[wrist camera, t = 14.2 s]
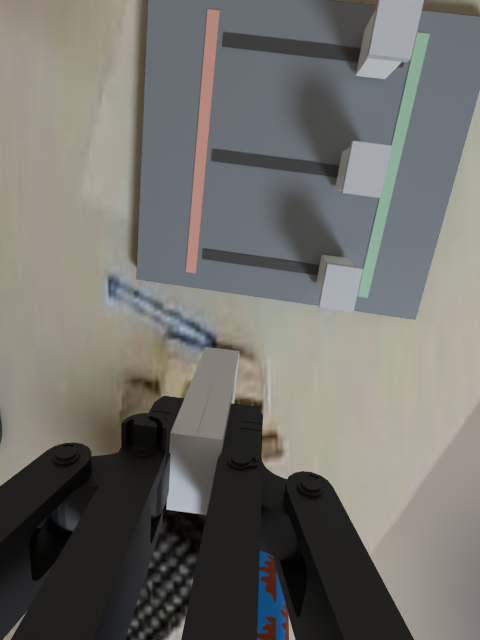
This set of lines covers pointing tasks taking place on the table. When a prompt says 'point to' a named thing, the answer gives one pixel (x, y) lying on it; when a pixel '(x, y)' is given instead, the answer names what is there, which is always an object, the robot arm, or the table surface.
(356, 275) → the block
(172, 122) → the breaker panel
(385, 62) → the block
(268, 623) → the thermos
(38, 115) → the table surface
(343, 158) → the block
